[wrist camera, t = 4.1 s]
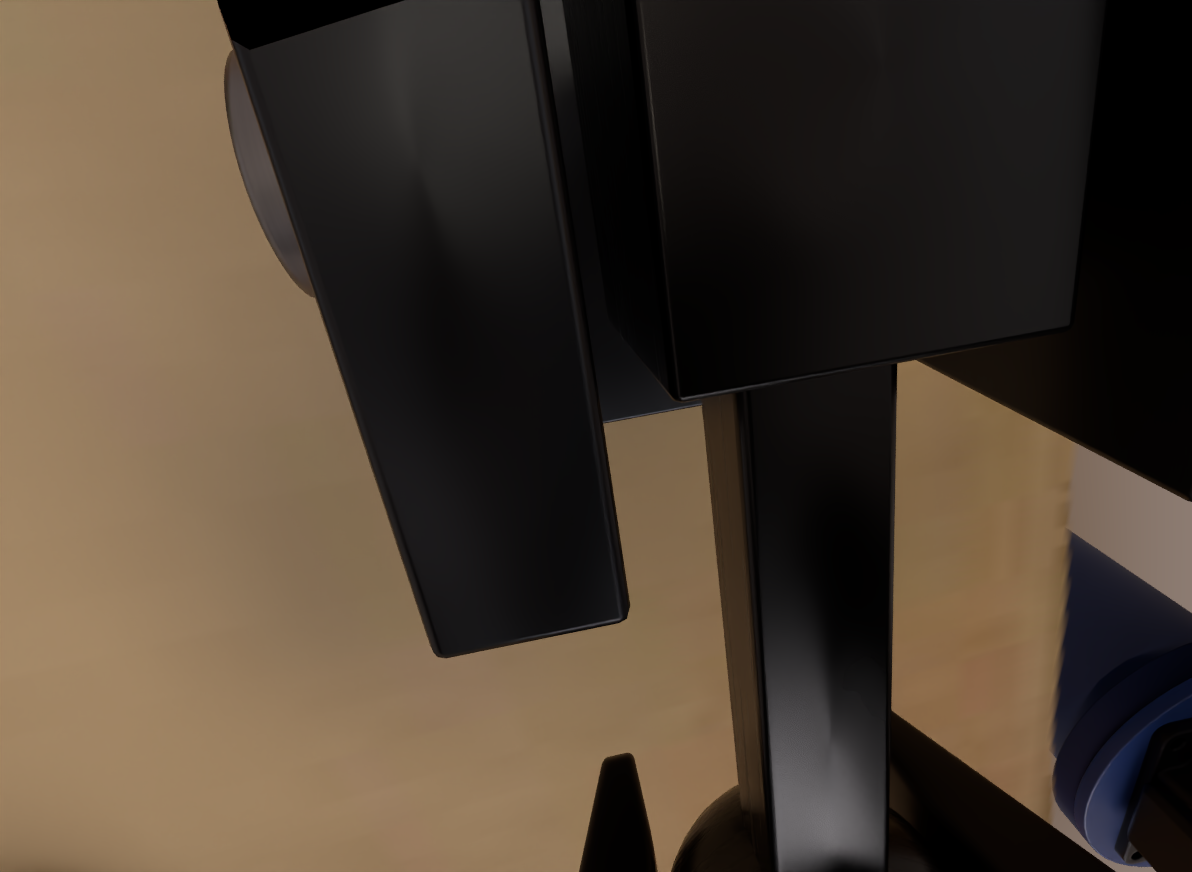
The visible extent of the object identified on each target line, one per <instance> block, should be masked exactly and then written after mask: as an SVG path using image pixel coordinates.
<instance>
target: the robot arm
mask: <svg viewBox="0 0 1192 872" xmlns="http://www.w3.org/2000/svg"><path fill="white" fill-rule="evenodd" d="M889 806H890V807H891V808H893V809H894V810H895V811H896V812H897V813H899V814H900V815H901V816H902V817H904V818H905V819H906V820H907V821H908V822H909V823H910V824H911V825H912V826H913V827H914V828H915V829H916V830H917V831H918V832H919V833H920V834H921V835H922V836H923V837H924V838H925V839H926V840H927V841H928V842H929V844H930V845H931V846H932V848H933V849H934V850H935V852H936V853H937V854H938V856H939V857H940V859H941V860H942V861H943V863H944V864H945V865H946V867H947V868H948V869H949V871H950V872H1115V871H1114V870H1113V869H1111V868H1110V867H1108V866H1107V865H1106V864H1104V863H1103V862H1102V861H1100V860H1099V859H1097V858H1096V857H1094V856H1093V855H1092V854H1090V853H1089V852H1088V851H1086V850H1085V849H1083V848H1082V847H1081V846H1079V845H1078V844H1076V843H1075V842H1074V841H1072V840H1071V839H1069V838H1068V837H1067V836H1065V835H1064V834H1063V833H1061V832H1060V831H1058V830H1057V829H1056V828H1054V827H1053V826H1051V825H1050V824H1049V823H1047V822H1046V821H1044V820H1043V819H1042V818H1040V817H1039V816H1038V815H1036V814H1035V813H1033V812H1032V811H1031V810H1029V809H1028V808H1026V807H1025V806H1024V805H1022V804H1021V803H1019V802H1018V801H1017V800H1015V799H1014V798H1012V797H1011V796H1010V795H1008V794H1007V793H1006V792H1004V791H1003V790H1001V789H1000V788H999V787H997V786H996V785H994V784H993V783H992V782H990V781H989V780H987V779H986V778H985V777H983V776H982V775H980V774H979V773H978V772H976V771H975V770H973V769H972V768H971V767H969V766H968V765H967V764H965V763H964V762H962V761H961V760H960V759H958V758H957V757H955V756H954V755H953V754H951V753H950V752H948V751H947V750H946V749H944V748H943V747H941V746H940V745H939V744H937V743H936V742H935V741H933V740H932V739H930V738H929V737H928V736H926V735H925V734H923V733H922V732H921V731H919V730H918V729H916V728H915V727H914V726H912V725H911V724H909V723H908V722H907V721H905V720H904V719H903V718H901V717H900V716H898V715H897V714H896V713H894V712H893V711H891V746H890V804H889ZM1115 851H1116V852H1117V853H1118V854H1119V856H1120V857H1121V858H1122V859H1123V860H1124V861H1125V863H1126V864H1137V863H1141V862H1145V861H1147V862H1148V863H1149V864H1150V865H1151V866H1152V867H1153V868H1154V870H1155V871H1156V872H1192V717H1191V718H1187V719H1183V720H1178V721H1174V722H1169V723H1167V724H1164V725H1162V726H1161V727H1159V728H1158V729H1157V730H1156V731H1155V732H1154V733H1153V734H1152V736H1151V739H1150V742H1149V745H1148V748H1147V751H1146V754H1145V757H1144V760H1143V763H1142V766H1141V769H1140V772H1139V775H1138V778H1137V781H1136V784H1135V787H1134V790H1133V793H1132V796H1131V799H1130V802H1129V805H1128V808H1127V811H1126V814H1125V817H1124V820H1123V823H1122V826H1121V829H1120V832H1119V835H1118V838H1117V841H1116V844H1115ZM579 872H658V871H657V865H656V859H655V853H654V846H653V841H652V836H651V830H650V826H649V822H648V817H647V813H646V808H645V804H644V799H643V795H642V791H641V786H640V782H639V777H638V773H637V768H636V764H635V760H634V757H633V755H632V754H630V753H624V754H620V755H615V756H610V757H607V758H605V759H604V761H603V763H602V766H601V771H600V776H599V780H598V785H597V790H596V794H595V799H594V804H593V809H592V813H591V818H590V823H589V827H588V832H587V837H586V842H585V846H584V851H583V856H582V860H581V865H580V870H579Z"/></svg>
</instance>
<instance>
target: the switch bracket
mask: <svg viewBox="0 0 1192 872" xmlns="http://www.w3.org/2000/svg"><path fill="white" fill-rule="evenodd" d="M217 1H218V6H219V9H220V12H221V15H222V18H223V21H224V24H225V27H226V30H227V33H228V36H229V39H230V42H231V45H232V48H233V50H232V51H231V52H230V53H229V56H228V58H227V61H226V66H225V75H224V91H225V103H226V111H227V118H228V123H229V129H230V135H231V139H232V143H233V148H234V152H235V156H236V159H237V163H238V166H239V170H240V173H241V176H242V179H243V182H244V185H245V188H246V191H247V194H248V196H249V199H250V202H251V204H252V207H253V209H254V211H255V214H256V216H257V218H258V221H259V223H260V225H261V227H262V229H263V231H264V233H265V236H266V238H267V239H268V241H269V243H270V245H271V247H272V249H273V251H274V252H275V254H276V256H277V258H278V259H279V261H280V262H281V264H282V266H283V267H284V269H285V270H286V272H287V273H288V274H289V276H290V277H291V278H292V280H293V281H294V282H295V283H296V284H297V285H298V287H299V288H301V289H302V290H303V291H304V292H305V293H306V294H308V295H310V296H311V297H314V298H315V299H316V302H317V305H318V308H319V311H320V314H321V317H322V320H323V323H324V326H325V329H326V332H327V335H328V338H329V341H330V344H331V347H332V350H333V353H334V356H335V359H336V362H337V365H338V368H339V371H340V374H341V377H342V380H343V383H344V386H345V389H346V392H347V395H348V399H349V402H350V405H351V408H352V411H353V414H354V417H355V420H356V423H357V426H358V429H359V432H360V435H361V438H362V441H363V444H364V447H365V450H366V453H367V456H368V459H369V462H370V465H371V468H372V471H373V474H374V477H375V480H376V483H377V486H378V489H379V492H380V495H381V498H382V501H383V504H384V507H385V510H386V513H387V516H388V519H389V522H390V525H391V528H392V531H393V534H394V538H395V541H396V544H397V547H398V550H399V553H400V556H401V559H402V562H403V565H404V568H405V571H406V574H407V577H408V580H409V583H410V586H411V589H412V592H413V595H414V598H415V601H416V604H417V607H418V610H419V613H420V616H421V619H422V622H423V625H424V628H425V631H426V634H427V637H428V640H429V643H430V646H431V648H432V650H433V652H434V653H435V655H436V656H437V657H441V658H450V657H455V656H460V655H465V654H470V653H475V652H479V651H484V650H489V649H494V648H499V647H504V646H509V645H514V644H519V643H524V642H528V641H533V640H538V639H543V638H548V637H553V636H558V635H563V634H568V633H573V632H578V631H582V630H587V629H592V628H597V627H602V626H607V625H612V624H617V623H620V622H622V621H623V620H625V619H627V616H628V612H629V608H630V601H629V594H628V588H627V581H626V574H625V567H624V561H623V554H622V547H621V541H620V534H619V527H618V521H617V514H616V507H615V500H614V494H613V487H612V480H611V474H610V467H609V460H608V454H607V447H606V440H605V433H604V427H603V423H609V422H614V421H619V420H625V419H630V418H636V417H641V416H647V415H652V414H657V413H663V412H668V411H674V410H679V409H685V408H690V407H695V406H701V405H702V400H701V399H700V400H694V401H689V402H683V403H681V402H677V401H673V400H672V398H671V397H670V396H669V395H668V393H667V392H666V391H665V390H664V388H663V387H662V386H661V385H660V384H659V382H658V381H657V380H656V379H655V377H654V376H653V375H652V374H651V373H650V371H649V370H648V369H647V368H646V366H645V365H644V364H643V363H642V362H641V360H640V359H639V358H638V357H637V355H636V354H635V353H634V352H633V351H632V349H631V348H630V347H629V346H628V344H627V343H626V342H625V341H624V340H623V338H622V337H621V336H620V335H619V333H618V332H617V331H616V330H615V329H614V327H613V326H612V325H611V323H610V322H609V320H608V316H607V309H606V302H605V295H604V288H603V281H602V274H601V267H600V260H599V253H598V246H597V240H596V233H595V226H594V219H593V212H592V205H591V198H590V191H589V184H588V177H587V170H586V163H585V156H584V150H583V143H582V136H581V129H580V122H579V115H578V108H577V101H576V94H575V87H574V80H573V73H572V66H571V60H570V53H569V46H568V39H567V32H566V25H565V18H564V11H563V4H562V0H217ZM917 361H919V362H921V363H923V364H925V365H927V366H929V367H930V368H932V369H934V370H936V371H938V372H940V373H942V374H944V375H946V376H948V377H950V378H952V379H954V380H956V381H958V382H959V383H961V384H963V385H965V386H967V387H969V388H971V389H973V390H975V391H977V392H979V393H981V394H983V395H985V396H986V397H988V398H990V399H992V400H994V401H996V402H998V403H1000V404H1002V405H1004V406H1006V407H1008V408H1010V409H1012V410H1013V411H1015V412H1017V413H1019V414H1021V415H1023V416H1025V417H1027V418H1029V419H1031V420H1033V421H1035V422H1037V423H1039V424H1040V425H1042V426H1044V427H1046V428H1048V429H1050V430H1052V431H1054V432H1056V433H1058V434H1060V435H1062V436H1064V437H1066V438H1067V439H1069V440H1071V441H1073V442H1075V443H1077V444H1079V445H1081V446H1083V447H1085V448H1087V449H1089V450H1091V451H1093V452H1095V453H1097V454H1098V455H1100V456H1102V457H1104V458H1106V459H1108V460H1110V461H1112V462H1114V463H1116V464H1118V465H1120V466H1122V467H1123V468H1125V469H1127V470H1129V471H1131V472H1133V473H1135V474H1137V475H1139V476H1141V477H1143V478H1145V479H1147V480H1148V481H1151V482H1152V483H1154V484H1156V485H1158V486H1160V487H1162V488H1164V489H1166V490H1168V491H1170V492H1172V493H1174V494H1176V495H1177V496H1180V497H1181V498H1183V499H1185V500H1187V501H1191V502H1192V0H1112V2H1111V11H1110V19H1109V28H1108V36H1107V45H1106V54H1105V62H1104V71H1103V79H1102V88H1101V97H1100V105H1099V114H1098V123H1097V131H1096V140H1095V148H1094V157H1093V166H1092V174H1091V183H1090V192H1089V200H1088V209H1087V217H1086V226H1085V235H1084V243H1083V252H1082V260H1081V269H1080V278H1079V286H1078V295H1077V304H1076V312H1075V321H1074V324H1073V326H1072V328H1071V329H1070V330H1068V331H1066V332H1063V333H1059V334H1054V335H1048V336H1043V337H1037V338H1032V339H1026V340H1021V341H1016V342H1010V343H1005V344H999V345H994V346H988V347H983V348H977V349H972V350H967V351H961V352H956V353H950V354H945V355H939V356H934V357H928V358H923V359H918V360H917Z"/></svg>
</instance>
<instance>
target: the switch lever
mask: <svg viewBox="0 0 1192 872" xmlns="http://www.w3.org/2000/svg"><path fill="white" fill-rule="evenodd" d="M1111 2H1112V0H562V4H563V11H564V18H565V25H566V32H567V39H568V46H569V53H570V60H571V66H572V73H573V80H574V87H575V94H576V101H577V108H578V115H579V122H580V129H581V136H582V143H583V150H584V156H585V163H586V170H587V177H588V184H589V191H590V198H591V205H592V212H593V219H594V226H595V233H596V240H597V246H598V253H599V260H600V267H601V274H602V281H603V288H604V295H605V302H606V309H607V316H608V320H609V322H610V323H611V325H612V326H613V327H614V329H615V330H616V331H617V332H618V333H619V335H620V336H621V337H622V338H623V340H624V341H625V342H626V343H627V344H628V346H629V347H630V348H631V349H632V351H633V352H634V353H635V354H636V355H637V357H638V358H639V359H640V360H641V362H642V363H643V364H644V365H645V366H646V368H647V369H648V370H649V371H650V373H651V374H652V375H653V376H654V377H655V379H656V380H657V381H658V382H659V384H660V385H661V386H662V387H663V388H664V390H665V391H666V392H667V393H668V395H669V396H670V397H671V398H672V400H673V401H677V402H681V403H683V402H689V401H694V400H700V399H701V400H702V410H703V420H704V431H705V441H706V452H707V462H708V472H709V483H710V493H711V503H712V514H713V524H714V534H715V545H716V555H717V565H718V576H719V586H720V596H721V607H722V617H723V627H724V638H725V648H726V659H727V669H728V679H729V690H730V700H731V710H732V721H733V731H734V741H735V752H736V762H737V772H738V783H739V785H737V786H735V787H733V788H732V789H730V790H728V791H727V792H725V793H724V794H723V795H721V796H720V797H719V798H718V799H716V800H715V801H714V802H713V803H712V804H711V805H710V806H709V807H707V808H706V809H705V810H704V812H703V813H702V814H701V815H700V816H699V818H698V819H697V820H696V822H695V823H694V825H693V826H692V827H691V829H690V831H689V832H688V834H687V835H686V837H685V838H684V840H683V843H682V845H681V847H680V849H679V851H678V854H677V856H676V858H675V861H674V863H673V867H672V870H671V872H950V871H949V869H948V868H947V867H946V865H945V864H944V863H943V861H942V860H941V859H940V857H939V856H938V854H937V853H936V852H935V850H934V849H933V848H932V846H931V845H930V844H929V842H928V841H927V840H926V839H925V838H924V837H923V836H922V835H921V834H920V833H919V832H918V831H917V830H916V829H915V828H914V827H913V826H912V825H911V824H910V823H909V822H908V821H907V820H906V819H905V818H904V817H902V816H901V815H900V814H899V813H897V812H896V811H895V810H894V809H893V808H891V807H890V806H889V804H890V746H891V689H892V631H893V573H894V516H895V458H896V400H897V363H901V362H907V361H912V360H918V359H923V358H928V357H934V356H939V355H945V354H950V353H956V352H961V351H967V350H972V349H977V348H983V347H988V346H994V345H999V344H1005V343H1010V342H1016V341H1021V340H1026V339H1032V338H1037V337H1043V336H1048V335H1054V334H1059V333H1063V332H1066V331H1068V330H1070V329H1071V328H1072V326H1073V324H1074V321H1075V312H1076V304H1077V295H1078V286H1079V278H1080V269H1081V260H1082V252H1083V243H1084V235H1085V226H1086V217H1087V209H1088V200H1089V192H1090V183H1091V174H1092V166H1093V157H1094V148H1095V140H1096V131H1097V123H1098V114H1099V105H1100V97H1101V88H1102V79H1103V71H1104V62H1105V54H1106V45H1107V36H1108V28H1109V19H1110V11H1111Z"/></svg>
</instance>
